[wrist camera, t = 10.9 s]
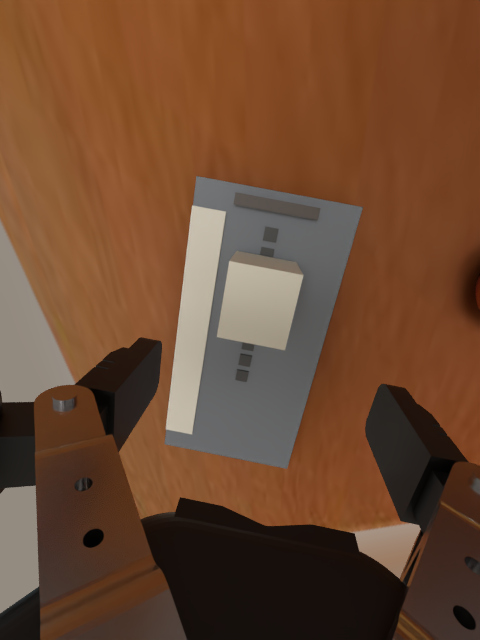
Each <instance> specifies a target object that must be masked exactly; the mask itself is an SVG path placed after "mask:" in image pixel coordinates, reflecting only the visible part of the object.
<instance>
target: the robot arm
mask: <svg viewBox="0 0 480 640" xmlns="http://www.w3.org/2000/svg"><path fill="white" fill-rule="evenodd" d="M161 353H162V343H161V341H157V340H152V339H147V338H142V337H141V338H139V339H138V340H137V341H136V342H135V343H134V344H133V345H132V346H131V347H130V348H124V347H123V348H121V349H118V350H116V351H113V352H111V353H110V354H109V355H107V356H106V357H105V358H104V359H103V361H101V362H100V363H98V364H97V365H96V367H94V368H93V369H92V370H91V371H89V372H88V373H87V374H86V375H85V376H84V377H83V378H82V379H81V380H79V381H78V382H77V383H76V384H75V385H64V386H58V387H54V388H51V389H49V390H46V391H45V392H43V393H41V394H40V395H39V396H38V397H37V398H36V399H35V401H34V402H17V403H15V402H10V403H2V397H1V392H0V493H1V492H2V491H3V490H4V489H5V488H9V487H21V486H34V485H36V504H37V532H38V562H39V587H38V588H36V589H35V590H33V591H32V592H31V593H29V594H28V595H26V596H25V597H23V598H22V599H21V600H19V601H18V602H16V603H15V604H14V605H12V606H10V607H9V608H8V609H6V610H5V611H3V612H2V613H0V640H480V466H479V465H476V464H473V463H469V462H468V461H467V460H466V458H465V457H464V456H463V454H462V453H461V452H460V451H459V449H458V448H457V447H456V445H455V444H454V443H453V441H452V440H451V439H450V438H449V437H448V436H447V434H446V432H445V431H444V430H443V428H441V427H440V425H439V423H438V422H437V421H436V419H435V418H434V417H433V416H432V414H430V413H429V412H428V411H426V410H425V409H424V408H423V407H421V406H420V405H419V404H417V403H416V402H415V400H414V399H413V398H412V396H411V395H410V394H409V392H408V391H407V390H406V389H405V388H402V387H397V386H392V385H387V384H381V385H380V386H379V388H378V390H377V393H376V395H375V398H374V401H373V404H372V407H371V409H370V412H369V415H368V418H367V421H366V428H365V431H366V437H367V440H368V442H369V445H370V447H371V450H372V452H373V455H374V457H375V459H376V462H377V464H378V467H379V469H380V472H381V474H382V477H383V479H384V481H385V484H386V486H387V489H388V491H389V494H390V496H391V498H392V501H393V503H394V506H395V508H396V511H397V513H398V516H399V518H400V520H401V521H403V522H408V523H413V524H417V525H419V526H420V528H421V530H420V532H419V534H418V536H417V538H416V541H415V543H414V545H413V548H412V550H411V553H410V555H409V557H408V560H407V562H406V565H405V567H404V570H403V572H402V574H401V577H400V579H399V578H398V577H396V576H395V575H394V574H393V573H392V572H390V571H389V570H388V569H387V568H386V567H384V566H383V565H381V564H380V563H379V562H377V561H375V560H374V559H372V558H371V557H369V556H367V555H366V554H364V553H362V552H359V549H358V545H357V541H356V537H355V534H354V533H349V532H345V531H340V530H335V529H330V528H325V527H321V526H316V525H290V526H264V525H262V524H260V523H257V522H255V521H253V520H251V519H249V518H247V517H245V516H242V515H240V514H238V513H236V512H234V511H232V510H230V509H227V508H225V507H223V506H219V505H214V504H210V503H205V502H200V501H195V500H190V499H186V498H181V497H180V499H179V502H178V506H177V509H176V512H168V513H162V514H156V515H153V516H149V517H146V518H143V519H141V520H140V517H139V514H138V511H137V507H136V504H135V501H134V498H133V495H132V492H131V489H130V486H129V483H128V480H127V477H126V474H125V471H124V468H123V465H122V462H121V458H120V455H119V451H120V449H121V447H122V446H123V444H124V443H125V441H126V440H127V438H128V436H129V435H130V433H131V432H132V430H133V428H134V427H135V425H136V424H137V422H138V421H139V419H140V417H141V416H142V414H143V413H144V411H145V409H146V408H147V406H148V405H149V403H150V401H151V400H152V398H153V397H154V395H155V393H156V390H157V387H158V383H159V376H160V364H161Z"/></svg>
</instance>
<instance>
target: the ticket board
mask: <svg viewBox="0 0 480 640" xmlns="http://www.w3.org/2000/svg"><path fill="white" fill-rule="evenodd" d="M362 209H363V207H359V206H354V205H348V204H343V203H338V202H332V201H327V200H322V199H316V198H311V197H306V196H300V195H295V194H290V193H284V192H279V191H273V190H268V189H263V188H257V187H252V186H247V185H241V184H236V183H231V182H225V181H220V180H215V179H209V178H204V177H199V176H197V177H196V185H195V193H194V202H193V205H192V211H191V219H190V228H189V236H188V245H187V253H186V262H185V270H184V279H183V287H182V295H181V304H180V312H179V321H178V329H177V338H176V346H175V355H174V363H173V371H172V380H171V388H170V397H169V405H168V414H167V422H166V436H165V444H167V445H172V446H177V447H182V448H187V449H192V450H197V451H202V452H207V453H212V454H217V455H221V456H226V457H231V458H236V459H241V460H246V461H251V462H256V463H261V464H266V465H271V466H276V467H281V468H286V469H287V467H288V463H289V460H290V457H291V453H292V450H293V446H294V443H295V439H296V436H297V432H298V429H299V426H300V422H301V419H302V415H303V412H304V408H305V405H306V401H307V398H308V395H309V391H310V388H311V384H312V381H313V377H314V374H315V370H316V367H317V364H318V360H319V357H320V353H321V350H322V346H323V343H324V339H325V336H326V333H327V329H328V326H329V322H330V319H331V315H332V312H333V308H334V305H335V302H336V298H337V295H338V291H339V288H340V284H341V281H342V277H343V274H344V271H345V267H346V264H347V260H348V257H349V253H350V250H351V246H352V243H353V240H354V236H355V233H356V229H357V226H358V222H359V219H360V215H361V212H362ZM236 251H241V252H246V253H251V254H256V255H262V256H267V257H272V258H277V259H283V260H288V261H293V262H296V263H297V264H298V266H299V268H300V270H301V271H302V273H303V279H302V284H301V288H300V292H299V296H298V300H297V304H296V308H295V312H294V316H293V320H292V324H291V328H290V332H289V336H288V340H287V344H286V348H285V350H280V349H275V348H270V347H265V346H260V345H255V344H250V343H244V342H239V341H234V340H229V339H224V338H219V337H217V332H218V326H219V320H220V314H221V308H222V302H223V296H224V290H225V284H226V278H227V272H228V266H229V261H230V259H231V258H232V256H233V255H234V254H235V252H236Z"/></svg>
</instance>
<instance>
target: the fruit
mask: <svg viewBox="0 0 480 640" xmlns="http://www.w3.org/2000/svg"><path fill="white" fill-rule="evenodd" d="M475 291H476V302H477V306H478V308H479V310H480V275H479V277H478V280H477V283H476V288H475Z"/></svg>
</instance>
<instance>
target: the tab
mask: <svg viewBox="0 0 480 640" xmlns="http://www.w3.org/2000/svg"><path fill="white" fill-rule="evenodd" d="M302 279H303V273H302V271H301V270H300V268H299V266H298V264H297V263H296V262H293V261H288V260H283V259H277V258H272V257H267V256H262V255H256V254H251V253H246V252H241V251H236V252H235V254H234V255H233V256H232V258H231V259H230V261H229V266H228V272H227V278H226V284H225V290H224V296H223V302H222V308H221V314H220V320H219V326H218V332H217V337H219V338H224V339H229V340H234V341H239V342H244V343H250V344H255V345H260V346H265V347H270V348H275V349H280V350H285V348H286V344H287V340H288V336H289V332H290V328H291V324H292V320H293V316H294V312H295V308H296V304H297V300H298V296H299V292H300V288H301V284H302Z"/></svg>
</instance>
